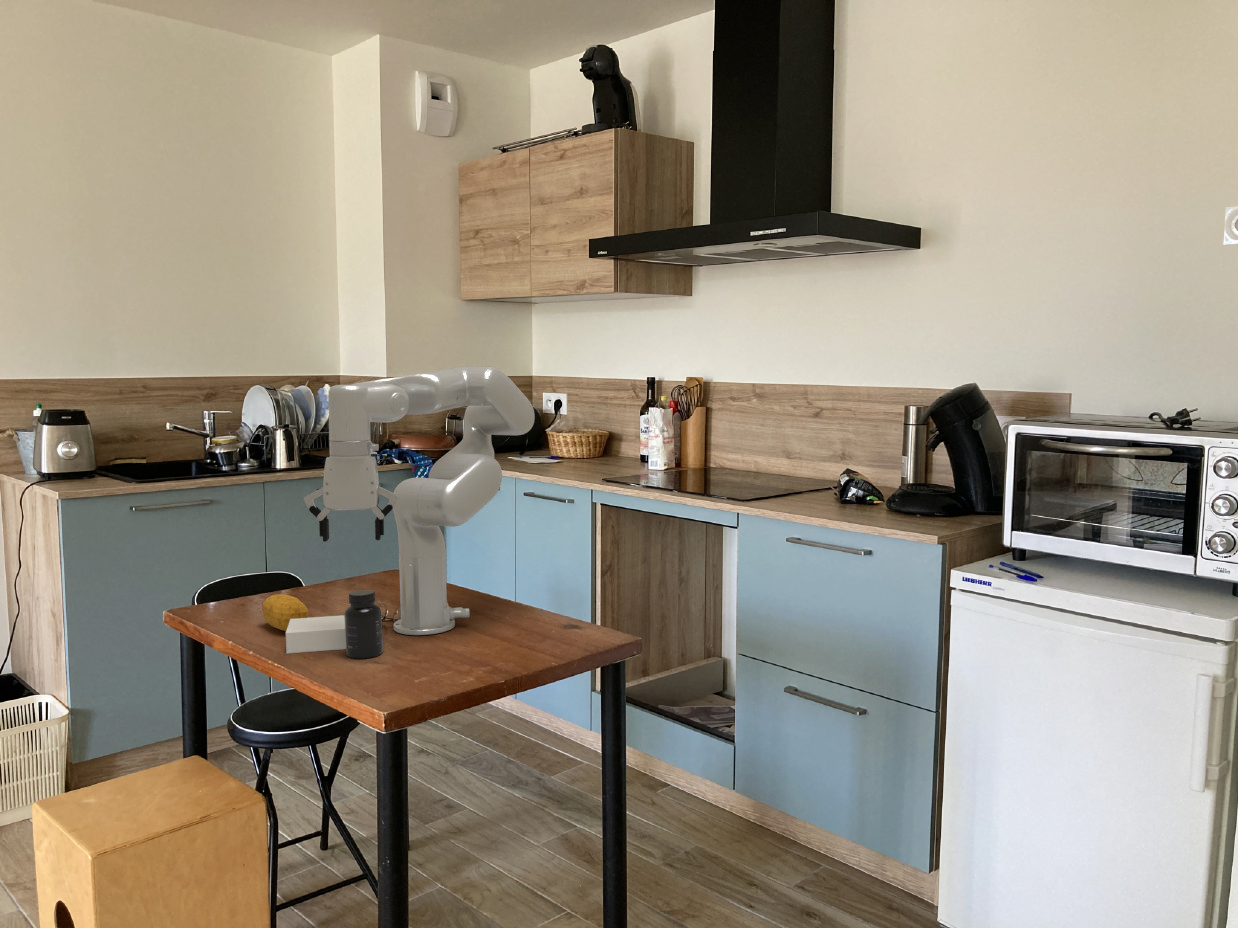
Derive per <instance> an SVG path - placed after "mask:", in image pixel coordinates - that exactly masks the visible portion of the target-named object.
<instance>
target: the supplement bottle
mask: <svg viewBox="0 0 1238 928" xmlns="http://www.w3.org/2000/svg"><path fill="white" fill-rule="evenodd" d="M376 600H377V599H376V593H375V590H370V589H360V590H354V591H351V592H349V593H348V604H349V606H348V607H346V609H345V610H344V612H343V614H344V618H345V636H346V649H345V650H346V655H347V657H349V658H351V659H357V660H359V659H360V660H362V659H371V658H374V657H378V656H380V655H381V654H382V653H383V651H384V642H383V641H384V639H383V638H384V637H383V636H384V635H383V621H382V620H383V619H382V618H383V617H382V609H381V607H380V606H379V605H378V604H377V603H375V602H376Z"/></svg>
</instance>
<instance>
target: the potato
mask: <svg viewBox="0 0 1238 928" xmlns="http://www.w3.org/2000/svg"><path fill="white" fill-rule="evenodd" d="M261 611H262V615H263V618H264V620H265V622H267V624H269V625H270V626H271V627H272V628H274V629H275V628H276V629H278V630H280V631H284V632H285V633H286V631H287V628H288V625H289V622H290V619H297V618H309V610H308V607H307V606H306V604H305V603H303V602H302V601H301V600H300V599H299V598H298V597H295V596H293V595H288V594H285V593H279V594H272V595H270V596H269V597H267V598H266V599H265V600H264V601H263V603H262V609H261Z"/></svg>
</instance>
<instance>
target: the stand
mask: <svg viewBox="0 0 1238 928" xmlns="http://www.w3.org/2000/svg"><path fill="white" fill-rule="evenodd" d="M285 647H286V648H285V649H286V651H285V652H286V654H297V653H299V654H301V653H310V652H311V653H312V652H324V651H325V652H326V651H337V650H338V651H339V650H346V636H345V618H344V615H343V614H342V615H328V616H327V615H326V616H314V617H308V618H297V619H290V622H289V625H288V628H287V631H286V632H285Z"/></svg>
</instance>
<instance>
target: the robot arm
mask: <svg viewBox="0 0 1238 928" xmlns="http://www.w3.org/2000/svg"><path fill="white" fill-rule="evenodd" d="M327 396H328V397H327V398H328V399H327V400H328V401H327V402H328V436H329V437H328V439H329V441H328V442H329V457H326V458H325V462H324V469H323V483H322V485H323V486H322V487H321V488H318V489H317V490H315V491H313V492H311V493H309V494H307V495H306V496H304V497H303V502H304V503H305V505H306V507H307V508H308V511H309V512H310V513H311V514H312V515H313V516H314V517H315V518H316V520H317V521H318V525H319V526H318V527H319V528H318V529H319V537H320V538H322V542H323V543H324V542H328V541H329V539H330V520H329V518H328V515H329V513H331V511H366V510H370V511H371V512H372V513H373V514H374V515H375V516H376V517H375V520H374V528H375V529H374V530H375V532H374V533H375V535H374V536H375V541H380V540H381V537H382V536H384V534H385V521H384V519H385V517H387V515H388V514H389V513H390V512H391V511H393V514H394V515H393V516H394V520H395V523H396V528H397V536H398V537H397V539H398V540H397V541H398V568H399V569H398V570H399V571H398V572H399V598H400V599H399V601H400V619H398V620H396V621H395V622H394V623H393V630H394V631H395V632H396V633H399V634H402V635H408V636H409V635H410V636H425V635H426V636H427V635H429V636H430V635H436V634H440V633H445V632H447V631H450V630H452V629H453V628H455V626H456V621H455V618H458V619H459V618H460V619H462V618H470V607H468V608H466V607H465V608H463V607H462V606H459V607H458V606H457V607H452V606H449V602H448V600H447V598H448V597H447V593H448V592H447V568H446V567H447V563H446V561H447V560H446V559H447V558H446V555H447V554H446V552H447V551H446V549H447V548H446V541H445V537H444V534H443V532H442V530H441V528H440V527H449V528H450V527H451V528H452V527H454V528H455V527H459V526H463V525H464V524H466V523H467V522H468V521H469V520H470V519H472V518H473V517H474V516H475V515H477V514H478V512H480V510H482V509H483V508H484V507H486V506H487V505H488V504H489V503H490V501H492V500H493V499H494V498H495V496H496V495H497V493H498V492H499V490H500V488H501V484H502V481H503V480H502V479H503V471H502V468H501V465H500V463H499V461H497V460H496V458H495V450H494V447H493V444H492V435H495V436H521V435H525V434H527V433H528V432H530V431H531V430H532V428H533V426H534V424H535V419H536V418H535V417H536V416H535V410H534V406H533V405H532V403H531V401H530V400H529V398H528V397H527V396H526V395H525V394H524V392H522V391H521V390H520V388H519V387H518V386H517V385H516V384H515V383H514V381H513V380H512V379H511V378H510V377H509V376H508V375H507V374H505V372H503V371H502V370H500V369H499V368H496V367H494V366H460V367H454V368H446V369H441V370H436V371H430V372H422V373H415V374H409V375H408V374H407V375H403V376H397V377H391V378H389V377H388V378H382V379H376V380H369V381H362V382H355V383H352V384H335V385H332V386H331V387H330V388H329V390H328V395H327ZM462 407H463V408H464V407H466V409H465V412H464V417H463V423H464V424H463V437H462V440H461V441H460V442H459V443H458V444H457V445H455V446H454V447H453V448H452V449H450V450H449V451H448V452H446V453H445V454H444V455H443V456H441V458H439V459H438V460H436V462H435V463H434V464H433V465H432V466H431V468H430V471H429V473H428V477H410V478H406V479H404V480H402V481H401V482H400V483H398V484H397V486H396V487H395V489H394V491H393V492H392V491H390V490H387V489H386V488H383V487H381V486H380V483H379V481H380V480H379V470H378V464H377V460H376V456H372V453H373V452H378V451H379V443H373V442H372V440H371V423H394V422H398V421H400V420H401V419H403V418H404V417H405V416H406V415H414V416H416V415H429V414H430V415H431V414H436V413H440V412H444V411H448V410H452V409H458V408H462ZM321 496H322V504H323V508H322V510H321V509H320V508H319V507H318V506H316V504H315V502H314V500H315V499H317V498H320V497H321ZM380 496H383V497H385V498H386V499H387V500H388V502H387V505H386V506H385V507H384V508H383V509H382V508H381V506H379V504H380Z"/></svg>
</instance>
